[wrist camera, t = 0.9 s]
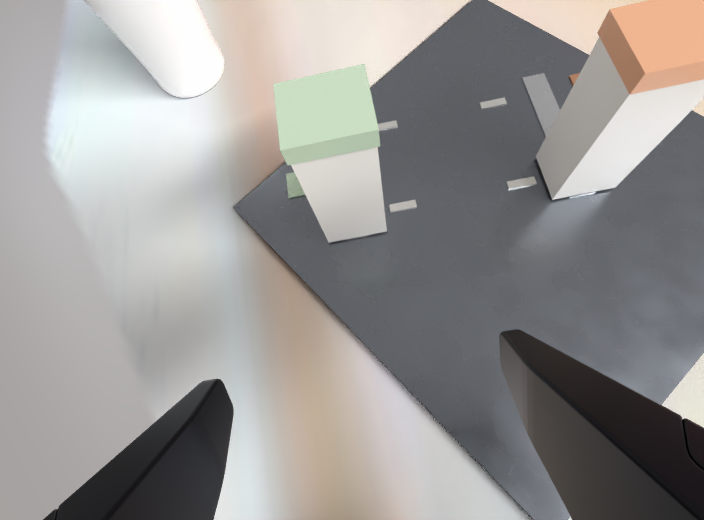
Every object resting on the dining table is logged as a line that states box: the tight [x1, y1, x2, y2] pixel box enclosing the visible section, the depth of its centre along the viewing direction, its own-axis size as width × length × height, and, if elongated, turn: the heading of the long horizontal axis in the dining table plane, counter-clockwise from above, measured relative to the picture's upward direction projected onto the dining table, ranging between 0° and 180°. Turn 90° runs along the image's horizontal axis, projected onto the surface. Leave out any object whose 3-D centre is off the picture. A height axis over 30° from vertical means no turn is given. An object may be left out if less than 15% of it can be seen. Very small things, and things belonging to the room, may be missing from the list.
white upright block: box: [273, 64, 387, 242], centre depth 19 cm, size 3×4×9 cm
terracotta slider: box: [536, 0, 704, 200], centre depth 18 cm, size 3×4×9 cm
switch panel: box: [234, 0, 704, 520], centre depth 23 cm, size 24×24×1 cm
